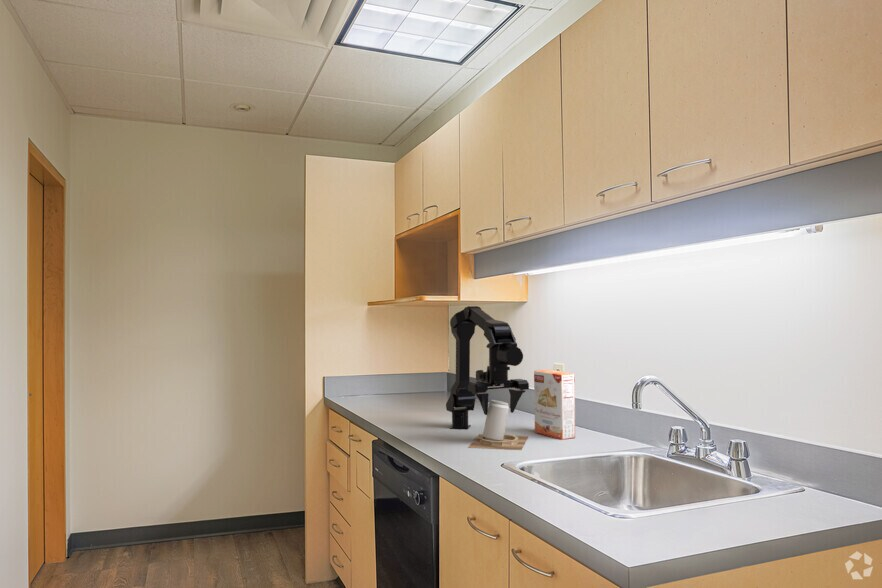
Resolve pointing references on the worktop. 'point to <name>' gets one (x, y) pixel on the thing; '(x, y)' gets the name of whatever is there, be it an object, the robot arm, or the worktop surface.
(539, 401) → the cracker box
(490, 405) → the beverage can
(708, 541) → the worktop surface
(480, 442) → the can holder
